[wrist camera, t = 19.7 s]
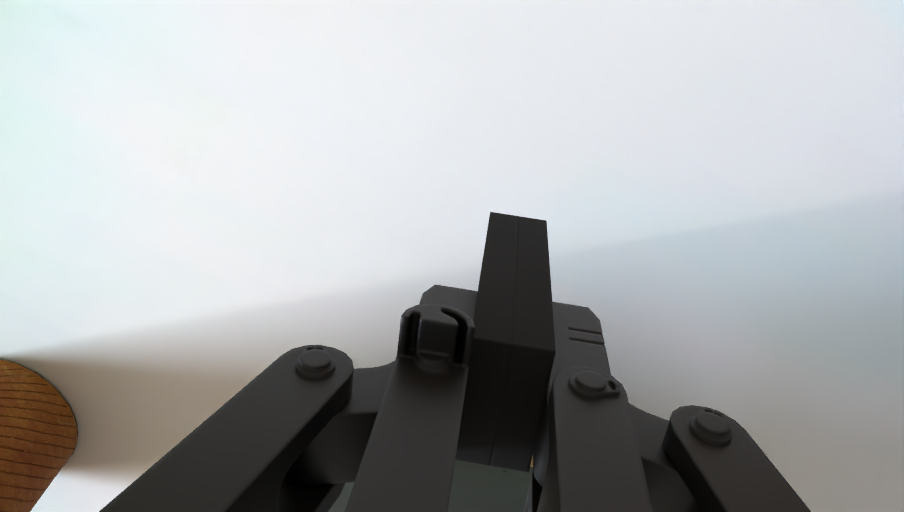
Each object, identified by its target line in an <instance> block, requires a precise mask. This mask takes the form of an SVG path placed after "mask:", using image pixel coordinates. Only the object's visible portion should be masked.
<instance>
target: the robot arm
mask: <svg viewBox="0 0 904 512" xmlns="http://www.w3.org/2000/svg"><path fill="white" fill-rule="evenodd" d="M532 456H533V471H532V476H531V480H530V485H529V489H528V494H527V498H526V502H525V507H524V511H523V512H811V511H810V510H809V509H808V507H807V506H806V505H805V504H804V502H803V501H802V500H801V499H800V497H799V496H798V495H797V494H796V492H795V491H794V490H793V489H792V487H791V486H790V485H789V484H788V483H787V481H786V480H785V479H784V478H783V476H782V475H781V474H780V473H779V471H778V470H777V469H776V468H775V466H774V465H773V464H772V463H771V461H770V460H769V459H768V458H767V456H766V455H765V454H764V453H763V451H762V450H761V449H760V448H759V446H758V445H757V444H756V443H755V441H754V440H753V439H752V438H751V436H750V435H749V434H748V433H747V431H746V430H745V429H744V428H743V427H741V426H740V425H739V424H738V423H737V422H736V421H735V420H733V419H731V418H730V417H728V416H726V415H725V414H723V413H721V412H719V411H717V410H713V409H711V408H707V407H700V406H693V405H691V406H683V407H679V408H678V409H676V410H674V411H673V412H672V415H671V418H670V421H668V420H665V419H662V418H659V417H657V416H654V415H651V414H649V413H646V412H644V411H642V410H640V409H637V408H636V407H634V406H633V405H631V404H629V403H628V398H627V394H626V391H625V390H624V388H623V386H622V384H621V383H620V382H618V381H617V380H616V379H615V378H614V377H613V376H611V373H610V368H609V363H608V358H607V353H606V348H605V346H604V339H603V335H602V329H601V324H600V320H599V319H598V318H597V317H596V316H595V314H594V313H593V312H592V311H591V310H590V309H589V308H588V307H582V306H575V305H569V304H563V303H557V302H552V293H551V279H550V265H549V251H548V237H547V223H546V221H545V220H539V219H532V218H526V217H519V216H513V215H507V214H500V213H494V212H490V218H489V224H488V231H487V237H486V243H485V249H484V256H483V262H482V268H481V275H480V281H479V287H478V291H472V290H466V289H459V288H453V287H447V286H441V285H434V286H433V287H431V288H430V289H428V290H427V291H426V292H424V293H423V295H422V298H421V301H420V304H419V305H416V306H414V307H411V308H409V309H407V310H406V311H405V312H404V313H403V315H402V316H401V324H400V333H399V342H398V352H397V357H396V360H395V361H394V362H392V363H390V364H388V365H384V366H380V367H374V368H361V369H354V368H353V363H352V360H351V359H350V358H349V357H348V356H347V355H346V354H345V353H344V352H342V351H340V350H338V349H335V348H332V347H327V346H322V345H308V346H302V347H298V348H294V349H292V350H290V351H288V352H286V353H285V354H283V355H282V356H280V357H279V358H278V359H277V360H276V361H275V362H273V363H272V364H271V365H270V366H269V367H268V368H266V369H265V370H264V371H263V372H262V373H261V374H259V375H258V376H257V377H256V378H255V379H254V380H252V381H251V382H250V383H249V384H248V385H247V386H245V387H244V388H243V389H242V390H241V391H240V392H238V393H237V394H236V395H235V396H234V397H232V398H231V399H230V400H229V401H228V402H227V403H225V404H224V405H223V406H222V407H221V408H220V409H218V410H217V411H216V412H215V413H214V414H213V415H211V416H210V417H209V418H208V419H207V420H206V421H204V422H203V423H202V424H201V425H200V426H199V427H197V428H196V429H195V430H194V431H193V432H192V433H190V434H189V435H188V436H187V437H186V438H185V439H183V440H182V441H181V442H180V443H179V444H178V445H176V446H175V447H174V448H173V449H172V450H171V451H169V452H168V453H167V454H166V455H165V456H164V457H162V458H161V459H160V460H159V461H158V462H157V463H155V464H154V465H153V466H152V467H151V468H150V469H148V470H147V471H146V472H145V473H144V474H143V475H141V476H140V477H139V478H138V479H137V480H136V481H134V482H133V483H132V484H131V485H130V486H128V487H127V488H126V489H125V490H124V491H123V492H121V493H120V494H119V495H118V496H117V497H116V498H114V499H113V500H112V501H111V502H110V503H109V504H107V505H106V506H105V507H104V508H103V509H102V510H100V511H99V512H328V511H329V510H330V508H331V507H332V505H333V504H334V503H335V501H336V500H337V499H338V497H339V496H340V494H341V492H342V490H343V488H344V485H345V483H350V482H354V485H353V488H352V491H351V494H350V497H349V500H348V503H347V506H346V509H345V512H448V506H449V499H450V492H451V486H452V479H453V472H454V465H455V460H459V461H465V462H471V463H477V464H482V465H488V466H494V467H500V468H506V469H511V470H517V471H523V472H529V469H530V465H531V460H532Z"/></svg>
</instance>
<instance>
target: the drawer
mask: <svg viewBox="0 0 904 512" xmlns="http://www.w3.org/2000/svg"><path fill="white" fill-rule="evenodd" d="M532 471H533V456H532V460H531V465H530V469H529V472H523V471H517V470H511V469H506V468H500V467H494V466H488V465H482V464H477V463H471V462H465V461H459V460H455V465H454V472H453V479H452V486H451V492H450V499H449V506H448V512H523V511H524V507H525V502H526V498H527V494H528V489H529V485H530V480H531V476H532ZM353 485H354V482H350V483H345V485H344V488H343V490H342V492H341V494H340V496H339V497H338V499H337V500H336V501H335V503H334V504H333V505H332V507H331V508H330V510H329V511H328V512H345V509H346V506H347V503H348V500H349V497H350V494H351V491H352V488H353Z"/></svg>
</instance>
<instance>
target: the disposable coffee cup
mask: <svg viewBox="0 0 904 512" xmlns="http://www.w3.org/2000/svg"><path fill="white" fill-rule="evenodd" d="M77 434H78V432H77V425H76V422H75V419H74V416H73V413H72V411H71V409H70V407H69V405H68V404H67V402H66V401H65V400H64V399H63V397H62V396H61V395H60V393H59V392H58V391H57V390H56V389H55V388H54V387H53V386H52V385H51V384H50V383H49V382H48V381H46V380H45V379H43V378H42V377H41V376H39V375H38V374H37V373H35V372H33V371H31V370H29V369H27V368H25V367H23V366H21V365H18V364H16V363H13V362H10V361H5V360H0V512H30V511H31V510H32V508H33V507H34V505H35V504H36V503H37V501H38V499H40V497H41V496H42V494H43V493H44V492H45V490H46V489H47V488H48V486H49V485H50V483H51V482H52V481H53V479H54V478H55V477H56V475H57V474H58V473H59V471H60V470H61V468H62V467H63V466H64V464H65V463H66V462H67V460H68V459H69V458H70V456H71V455H72V454H73V452H74V449H75V446H76V444H77Z"/></svg>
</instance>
